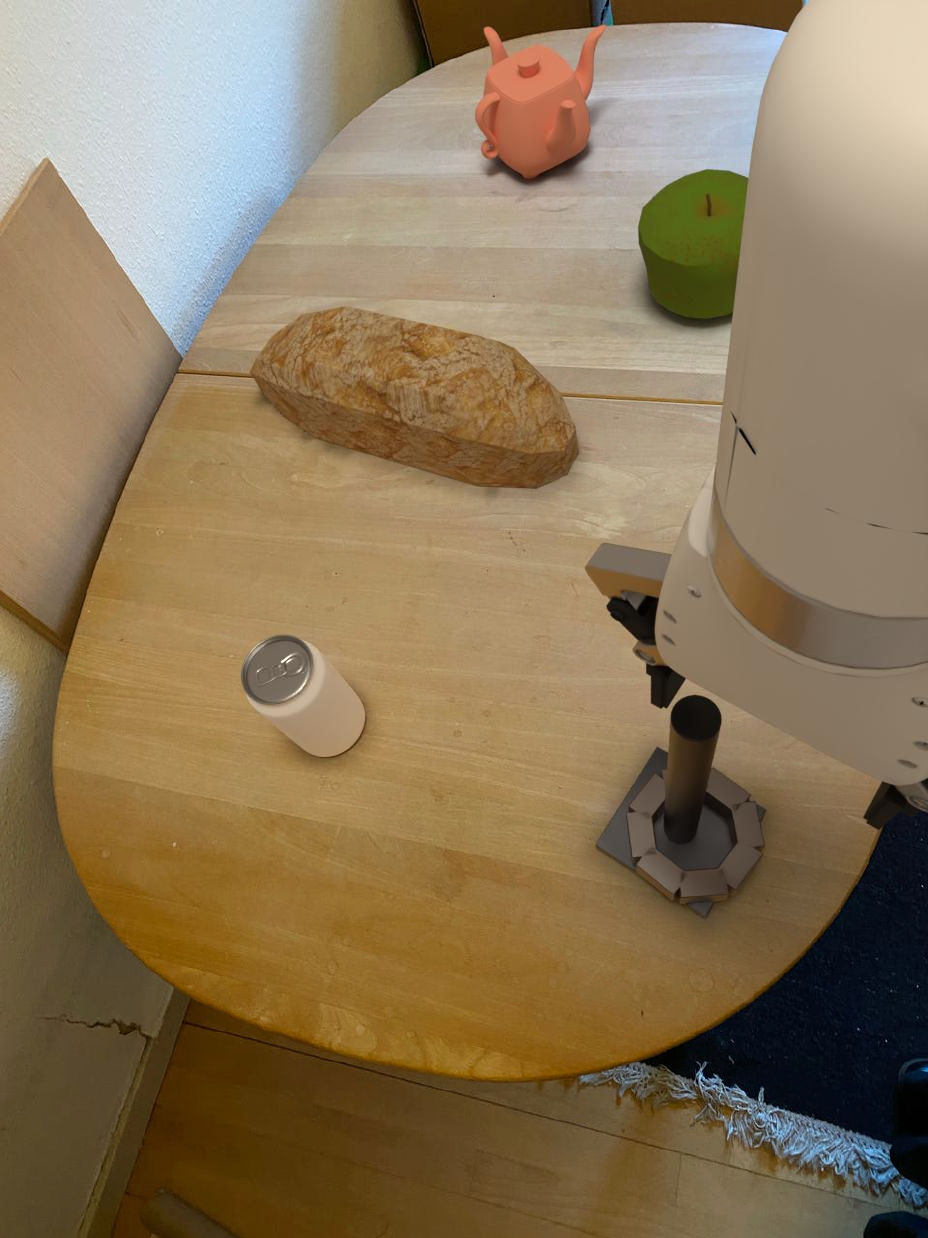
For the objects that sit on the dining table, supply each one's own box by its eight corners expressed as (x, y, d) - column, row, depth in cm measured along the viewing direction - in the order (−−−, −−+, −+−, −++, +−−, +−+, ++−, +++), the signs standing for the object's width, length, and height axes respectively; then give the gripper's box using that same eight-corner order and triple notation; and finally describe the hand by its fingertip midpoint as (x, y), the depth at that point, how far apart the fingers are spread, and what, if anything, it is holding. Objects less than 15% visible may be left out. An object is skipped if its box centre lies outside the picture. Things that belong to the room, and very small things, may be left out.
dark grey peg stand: (765, 813, 62) (829, 688, 40) (704, 919, 59) (737, 849, 37) (657, 750, 65) (660, 604, 43) (596, 848, 63) (566, 745, 41)
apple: (630, 334, 85) (627, 241, 75) (651, 248, 89) (651, 150, 80) (759, 341, 81) (774, 244, 71) (773, 251, 86) (789, 149, 76)
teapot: (498, 113, 105) (483, 19, 95) (610, 113, 101) (606, 15, 91) (465, 191, 100) (445, 100, 90) (581, 195, 95) (574, 100, 86)
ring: (782, 830, 60) (788, 820, 57) (707, 930, 58) (710, 925, 55) (677, 754, 64) (679, 742, 61) (604, 845, 62) (602, 837, 59)
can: (374, 743, 70) (325, 692, 60) (303, 769, 70) (242, 722, 60) (357, 677, 73) (308, 617, 63) (289, 702, 74) (229, 646, 63)
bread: (595, 417, 81) (589, 342, 72) (550, 507, 77) (537, 439, 69) (297, 343, 94) (261, 272, 85) (246, 417, 90) (203, 350, 81)
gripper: (1323, 550, 19) (1022, 768, 34) (640, 314, 26) (643, 582, 41) (1209, 835, 17) (943, 931, 32) (502, 494, 24) (559, 705, 39)
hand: (774, 735), depth 36 cm, fingers open, 9 cm apart
